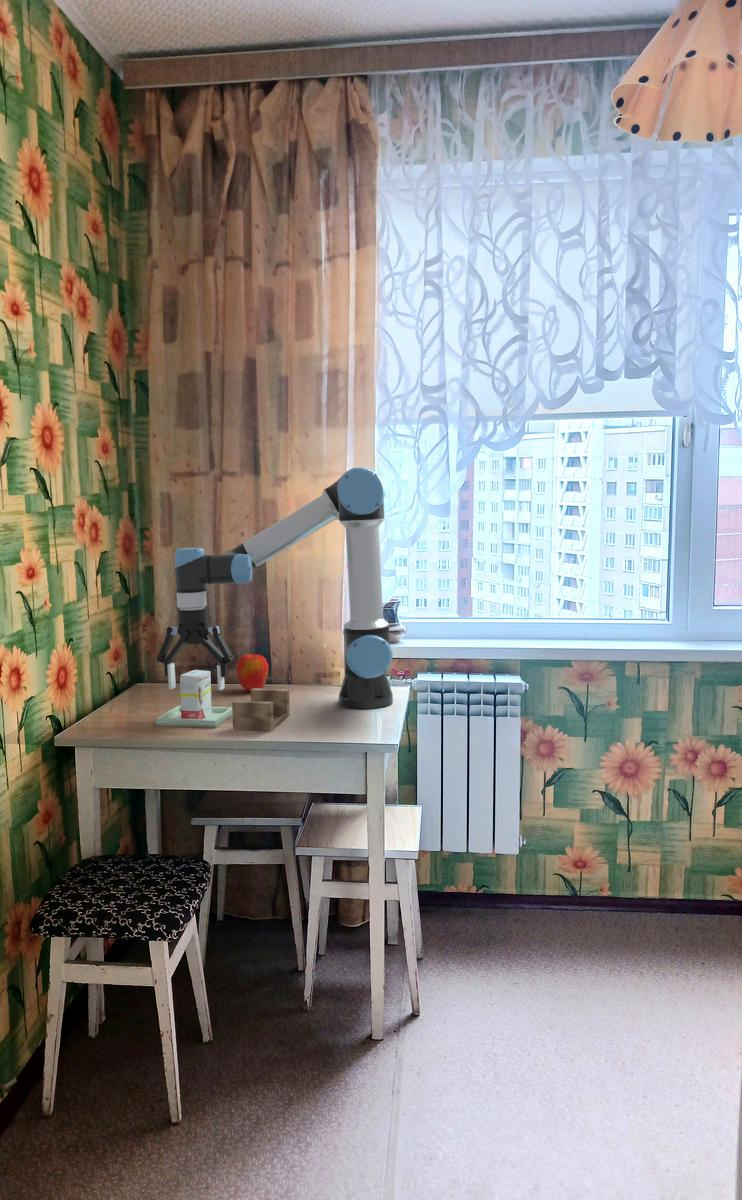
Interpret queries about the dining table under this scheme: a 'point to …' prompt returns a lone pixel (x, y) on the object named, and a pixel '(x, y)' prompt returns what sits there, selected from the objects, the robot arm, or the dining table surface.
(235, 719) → the holder
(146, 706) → the dining table surface
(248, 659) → the apple
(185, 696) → the ink box
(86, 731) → the dining table surface
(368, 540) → the robot arm
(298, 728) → the dining table surface
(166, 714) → the tray
